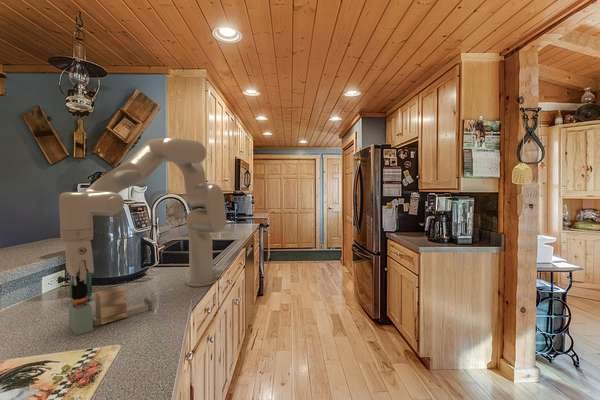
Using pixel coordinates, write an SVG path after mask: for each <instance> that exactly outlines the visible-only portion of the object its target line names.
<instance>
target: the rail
mask: <svg viewBox="0 0 600 400" xmlns="http://www.w3.org/2000/svg"><path fill="white" fill-rule="evenodd" d="M149 311H150V312H151V311H153V300H151V299H150V298H148V297H144V301H143V302H142V303H138V304H134V305H131V306H127V317H126V318H129V317H132V316H135V315H139V314H141V313H144V312H149ZM92 317H93V328H95V327H98V326H101V324H100V319H101V318H100V317H98V316H96V315H93V316H92Z"/></svg>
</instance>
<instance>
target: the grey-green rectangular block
mask: <svg viewBox="0 0 600 400" xmlns="http://www.w3.org/2000/svg"><path fill="white" fill-rule="evenodd" d="M93 317H94V316H93V306H92V305H91V304H90V303H89V302H88V301H87V302H85V306H81V307H77V308H75V304H72V302H69V303H68V324H69V325H68V326H69V328H70V330H71V331H72V332H73V334H74V335H75V337H76V336H77V337H78V336H80V335H83V334H87V333H89V332H92V331H94V325H93Z"/></svg>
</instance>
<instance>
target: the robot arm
mask: <svg viewBox="0 0 600 400" xmlns="http://www.w3.org/2000/svg"><path fill="white" fill-rule="evenodd" d="M206 157H207V149H206V147H205V146H204V144H203V143H201V141H198V140H193V139H192V140H191V139H184V138H183V139H182V138H179V137H160V138H159V137H158V138H157V137H156V138H152V139H149V140H147V141H145V142H144V144H143V145H141V146H140V147H139V148H138V149H137V150H136V151H135V152H134V153H133V154H131V156H130V157H129V158H128V159H126V161H124V162H123V163H122V164H120V165H119V166H117V167H115V168H113V169H112V170H110V171H109V172H107V173H105V174H104V175H102V176H101V177H99V178H97V180H95V181H94V182H92V184H91V185H90V186H88V187H87V188H86V189H85V191H67V192H66V191H65V192H62V193H61V194H60V195H59V197H58V198H59V199H58V200H59V201H58V202H59V203H58V204H59V205H58V206H59V225H60V226H59V227H60V228H59V229H60V231H59V233H60V242H61V243H65V245H64V247H65V249H64V250H65V255H64V256H65V269H66V272H67V273H68V274H69V275H70V274H71V281H72V285H71V288H72V298H73V299H74V300H76V299H80V298H84V297H86V296H87V292H86V271H87V272H88V273H90V274H91V275H92V274H94V272H95V269H94V267H95V266H94V258H93V257H94V256H93V248H92V242H91V240H94V221H93V216H114V215H117V214H119V213H120V212H121V211H122V210H123V209H124V206H125V200H124V198H123V196H122V195H121V194H119V193H121V192H122V191H123V190H126V189H129V188H131V187H134V186H137V185H139V184H142V183H144V182H145V181H146V180H147V179H148V178H149V177H150V176H151V175H152V174H153V173H154V172H155V171H156V170H158V168H159V167H160V166H161V165H162V164H163V163H169V162H170V163H173V164H174V165H175V166H176V167H178V169H179V170H180V172H182V177H183V181H184V189H185V195H186V200H187V203H188V204H189V205H190V206H194V207H205V208H195V209H192V210H191V211H189V212H188V213H187V215H186V218H185V225H186V230H187V233H188V259H189V260H188V263H189V264H188V265H189V277H188V278H187V279H186V280H185V284H186V286H188V287H195V288H196V287H197V288H198V287H207V286H210V285H213V284H215V283H216V282H217V277H216V276H217V275H222V274H223V269H218V270H217V269H213V267H214V264H213V263H214V261H213V257H214V256H213V239H212V235H211V233H216V234H217V233H221V232H223V231H224V229H225V228H226V225H227V212H226V203H225V202H226V201H225V194H224V192H223V190H222V188H221V187H220V186H219V185H218V184H215V183H207V177H206V172H205V169H204V166H203V165H202V162H204V161H205V159H206ZM73 284H74V285H73Z"/></svg>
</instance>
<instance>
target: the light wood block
mask: <svg viewBox="0 0 600 400" xmlns="http://www.w3.org/2000/svg"><path fill="white" fill-rule="evenodd" d="M94 295H95V296H94V297H95V301H94V302H95V316H98V317H100V318H101V319H100V324H101V325H105V324H107V323H108V322H109V323H112V322H114V321H115V322H116V321H118V320H121V319H125V318H128V317H127V307H128V305H127V289H126V288H125V287H123V286H122V285H118V286H114V287H113V286H112V287H109V288H105V289H100V290H96V291H95V292H94ZM101 325H100V326H101Z"/></svg>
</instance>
